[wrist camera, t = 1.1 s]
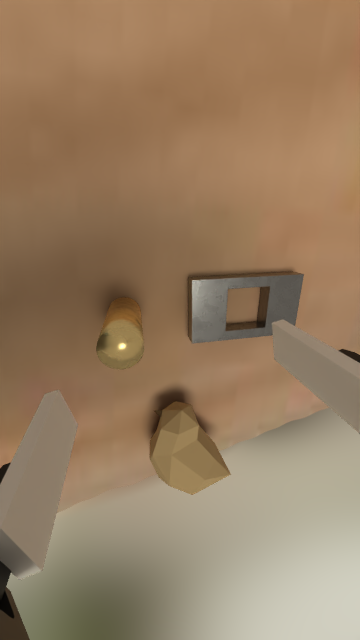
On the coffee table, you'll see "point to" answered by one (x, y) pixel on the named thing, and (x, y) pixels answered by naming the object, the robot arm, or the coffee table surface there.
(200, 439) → the faceted tan rock
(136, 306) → the gold peg
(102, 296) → the coffee table surface
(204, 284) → the metal plate with hole
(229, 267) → the coffee table surface
